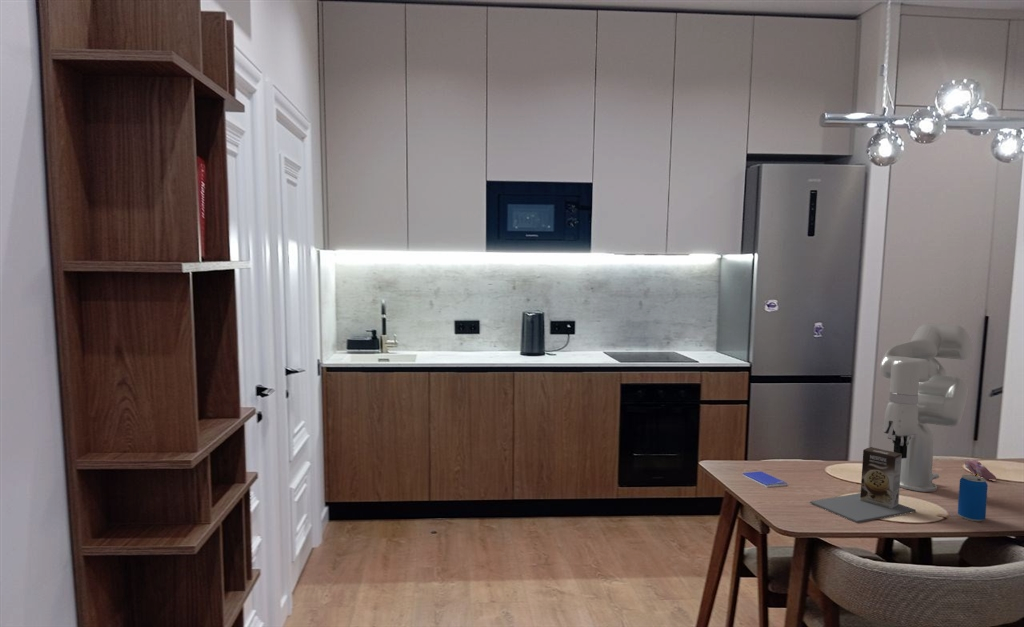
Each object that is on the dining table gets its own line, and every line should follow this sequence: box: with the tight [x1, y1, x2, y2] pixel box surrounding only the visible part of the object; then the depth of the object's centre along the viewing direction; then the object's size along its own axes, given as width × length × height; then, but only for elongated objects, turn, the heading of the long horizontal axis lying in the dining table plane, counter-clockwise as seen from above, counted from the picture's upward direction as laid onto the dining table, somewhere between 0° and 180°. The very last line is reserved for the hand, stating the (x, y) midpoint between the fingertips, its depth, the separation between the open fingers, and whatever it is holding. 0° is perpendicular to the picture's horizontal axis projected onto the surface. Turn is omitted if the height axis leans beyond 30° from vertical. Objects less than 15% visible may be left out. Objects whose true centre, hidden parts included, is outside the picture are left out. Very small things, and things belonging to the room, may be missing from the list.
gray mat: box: [809, 492, 916, 524], centre depth 184 cm, size 25×16×1 cm, turn 112°
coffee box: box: [860, 446, 902, 509], centre depth 186 cm, size 9×6×16 cm
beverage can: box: [957, 474, 988, 522], centre depth 177 cm, size 6×6×12 cm
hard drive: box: [742, 471, 788, 488], centre depth 207 cm, size 2×8×12 cm
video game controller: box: [964, 459, 997, 480], centre depth 216 cm, size 10×5×7 cm, turn 173°
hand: (899, 457), depth 189 cm, fingers closed
